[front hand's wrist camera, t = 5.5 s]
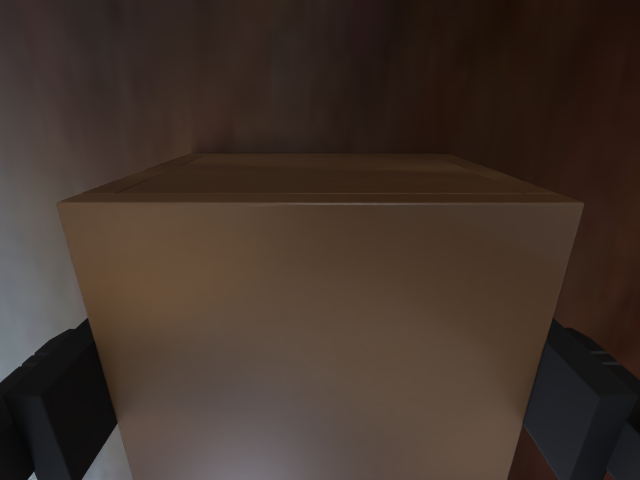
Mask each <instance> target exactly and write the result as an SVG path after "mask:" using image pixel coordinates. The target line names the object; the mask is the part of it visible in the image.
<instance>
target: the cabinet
mask: <svg viewBox="0 0 640 480" xmlns="http://www.w3.org/2000/svg"><path fill="white" fill-rule="evenodd" d="M583 208H584V203H583V202H580V201H578V200H575V199H572V198H569V197H567V196H564V195H561V194H557V193H555V192H552V191H550V190H547V189H544V188H541V187H539V186H536V185H533V184H531V183H528V182H525V181H523V180H520V179H517V178H514V177H512V176H509V175H506V174H504V173H501V172H498V171H495V170H493V169H490V168H487V167H485V166H482V165H479V164H476V163H474V162H471V161H468V160H466V159H463V158H460V157H458V156H455V155H453V154H320V153H190V154H188V155H185V156H182V157H179V158H176V159H173V160H171V161H168V162H165V163H162V164H160V165H157V166H154V167H152V168H149V169H146V170H143V171H141V172H138V173H135V174H132V175H130V176H127V177H124V178H121V179H119V180H116V181H113V182H111V183H108V184H105V185H102V186H100V187H97V188H94V189H91V190H89V191H86V192H83V193H82V194H79V195H76V196H73V197H71V198H68V199H65V200H62V201H60V202H58V203H57V209H58V212H59V216H60V219H61V223H62V227H63V230H64V234H65V237H66V241H67V244H68V248H69V252H70V255H71V259H72V262H73V266H74V269H75V273H76V277H77V280H78V284H79V287H80V291H81V295H82V298H83V302H84V305H85V309H86V312H87V316H88V320H89V323H90V327H91V330H92V334H93V337H94V341H95V345H96V348H97V352H98V355H99V359H100V362H101V366H102V370H103V373H104V377H105V380H106V384H107V387H108V391H109V395H110V398H111V402H112V405H113V409H114V412H115V416H116V420H117V423H118V427H119V430H120V434H121V437H122V441H123V445H124V448H125V452H126V455H127V459H128V462H129V466H130V470H131V473H132V477H133V480H507V478H508V474H509V471H510V467H511V464H512V460H513V457H514V453H515V450H516V446H517V442H518V439H519V435H520V432H521V428H522V425H523V421H524V418H525V414H526V411H527V407H528V403H529V400H530V396H531V393H532V389H533V386H534V382H535V379H536V375H537V371H538V368H539V364H540V361H541V357H542V354H543V350H544V347H545V343H546V340H547V336H548V332H549V329H550V325H551V322H552V318H553V315H554V311H555V308H556V304H557V300H558V297H559V293H560V290H561V286H562V283H563V279H564V276H565V272H566V269H567V265H568V261H569V258H570V254H571V251H572V247H573V244H574V240H575V237H576V233H577V229H578V226H579V222H580V219H581V215H582V212H583Z"/></svg>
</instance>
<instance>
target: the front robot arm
mask: <svg viewBox="0 0 640 480" xmlns="http://www.w3.org/2000/svg"><path fill="white" fill-rule="evenodd" d="M523 424H524V426H525V427H526V429H527V431H528V432H529V434H530V435H531V437H532V438H533V440H534V442H535V443H536V445H537V446H538V448H539V449H540V451H541V453H542V454H543V456H544V457H545V459H546V460H547V462H548V464H549V465H550V467H551V468H552V470H553V471H554V473H555V475H556V476H557V478H558V479H559V480H603V479H604V476H605V474H606V471H608V472H609V473H610V475H611V476H612V477H613V478H614V480H640V380H639V379H637V378H636V377H635V376H634V375H633V374H632V373H630V372H629V371H628V370H627V369H626V368H625V367H623V366H622V365H619V362H618V361H616V360H615V359H614V358H613V357H612V356H611V355H609V354H606V351H605V350H604V349H602V348H601V347H600V346H599V345H598V344H597V343H595V342H594V341H593V340H592V339H591V338H589V337H587V336H585V335H583V334H582V333H580V332H578V331H576V330H574V329H573V328H563V327H562V326H561V325H560V324H559V323H558V322H557V321H556V320H555V319H554V318H552V322H551V325H550V329H549V332H548V336H547V340H546V343H545V347H544V350H543V354H542V357H541V361H540V364H539V368H538V371H537V375H536V379H535V382H534V386H533V389H532V393H531V396H530V400H529V403H528V407H527V411H526V414H525V418H524V421H523ZM116 425H117V420H116V416H115V412H114V409H113V405H112V402H111V398H110V395H109V391H108V387H107V384H106V380H105V377H104V373H103V370H102V366H101V362H100V359H99V355H98V352H97V348H96V345H95V341H94V337H93V334H92V330H91V327H90V323H89V320H88V318H87V319H86V320H85V321H84V322H82V323H81V324H80V325H79V326H78V327H77V328H76V329H68V330H67V331H65V332H63V333H61V334H59V335H58V336H56V337H54V338H52V339H51V340H49V341H48V342H47V343H46V344H44V345H43V346H42V347H41V348H40V349H39V350H38V351H36V352H35V355H32V356H31V357H29V358H28V359H27V360H26V361H25V362H24V363H22V366H21V367H18V368H17V369H16V370H14V371H13V372H12V373H11V374H10V375H9V376H7V377H6V378H5V379H4V380H3V381H2V382H1V383H0V480H28V478H29V477H30V476H31V475H32V473H33V472H34V473H35V475H36V477H37V480H82V478H83V477H84V475H85V474H86V472H87V470H88V469H89V467H90V466H91V464H92V463H93V461H94V459H95V458H96V456H97V455H98V453H99V452H100V450H101V448H102V447H103V445H104V444H105V442H106V441H107V439H108V437H109V436H110V434H111V433H112V431H113V430H114V428H115V427H116Z"/></svg>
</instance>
